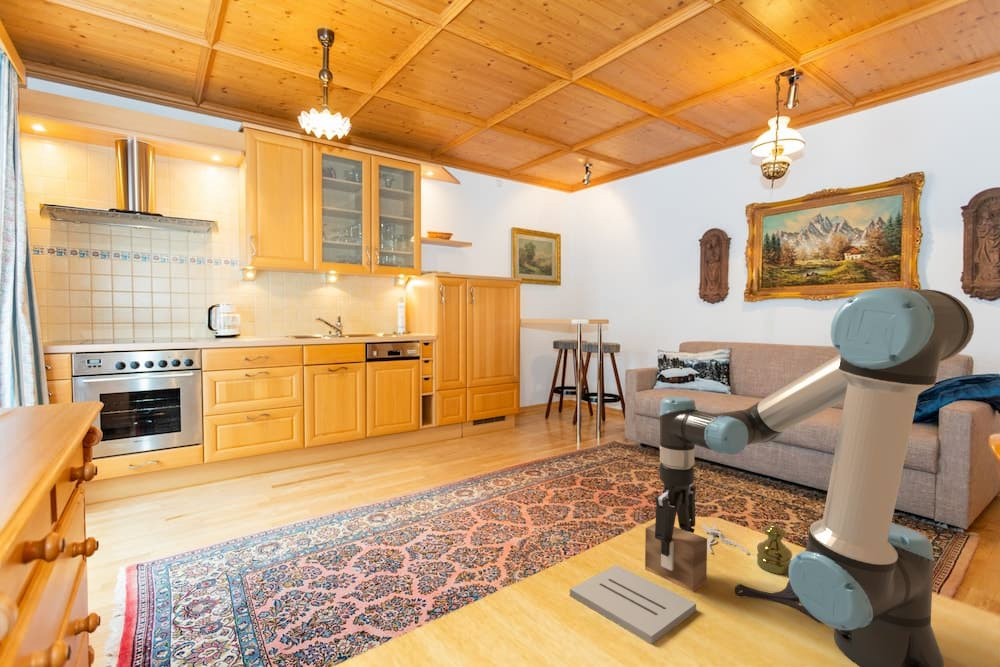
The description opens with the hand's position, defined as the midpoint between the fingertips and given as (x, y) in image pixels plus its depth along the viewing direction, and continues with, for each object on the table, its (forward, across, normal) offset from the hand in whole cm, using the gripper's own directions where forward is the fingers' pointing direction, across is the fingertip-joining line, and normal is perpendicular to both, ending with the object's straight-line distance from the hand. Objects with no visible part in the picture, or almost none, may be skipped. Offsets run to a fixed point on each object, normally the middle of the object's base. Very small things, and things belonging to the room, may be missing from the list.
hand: (675, 562), depth 112 cm
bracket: (+4, -8, +18) cm, 20 cm away
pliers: (+4, -25, -2) cm, 25 cm away
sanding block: (+3, 0, 0) cm, 3 cm away
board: (+3, +17, 0) cm, 17 cm away
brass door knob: (+3, -22, +13) cm, 26 cm away
